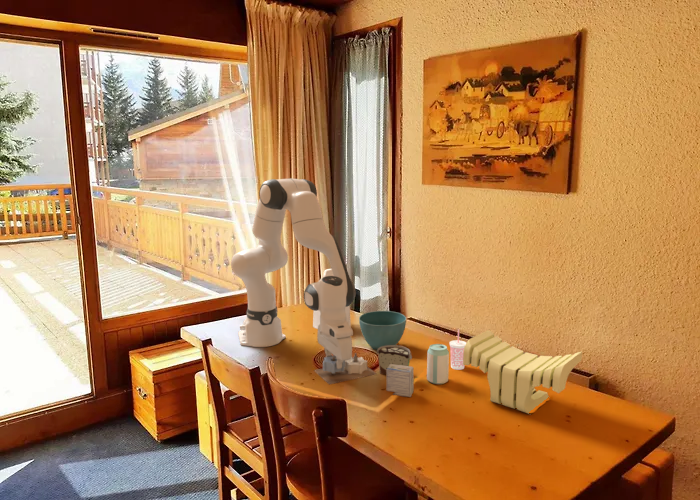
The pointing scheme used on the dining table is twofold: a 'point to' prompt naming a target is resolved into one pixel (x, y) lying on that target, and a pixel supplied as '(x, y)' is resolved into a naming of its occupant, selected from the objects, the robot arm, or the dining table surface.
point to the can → (437, 364)
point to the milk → (317, 313)
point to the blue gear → (332, 365)
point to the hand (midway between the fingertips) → (334, 364)
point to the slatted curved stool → (517, 371)
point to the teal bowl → (382, 328)
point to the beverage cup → (457, 353)
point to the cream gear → (355, 365)
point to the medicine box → (400, 380)
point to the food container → (393, 356)
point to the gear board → (342, 374)
